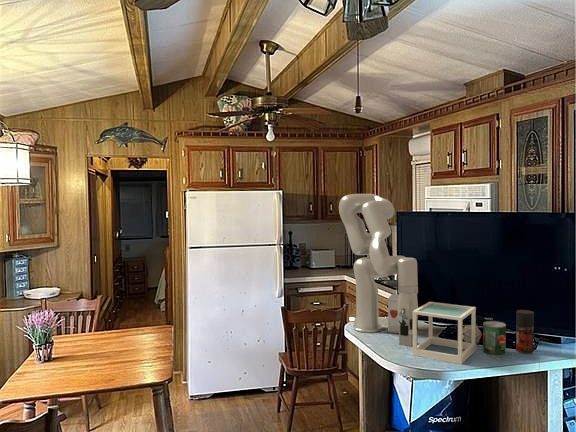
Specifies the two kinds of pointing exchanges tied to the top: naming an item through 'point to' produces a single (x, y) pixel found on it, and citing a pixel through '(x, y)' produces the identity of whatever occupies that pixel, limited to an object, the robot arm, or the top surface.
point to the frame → (461, 356)
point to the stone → (406, 339)
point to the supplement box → (394, 315)
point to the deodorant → (525, 331)
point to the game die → (467, 334)
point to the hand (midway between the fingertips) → (409, 332)
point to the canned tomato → (494, 338)
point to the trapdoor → (444, 310)
